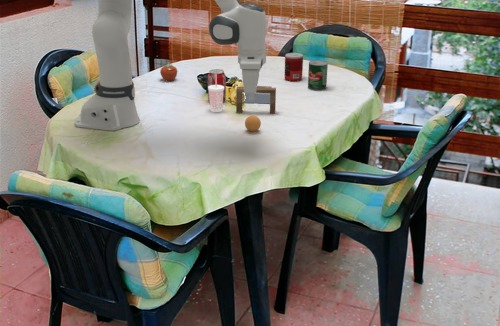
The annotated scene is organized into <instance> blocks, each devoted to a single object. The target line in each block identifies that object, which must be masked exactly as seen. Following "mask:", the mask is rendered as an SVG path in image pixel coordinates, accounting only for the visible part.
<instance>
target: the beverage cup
mask: <svg viewBox="0 0 500 326" xmlns="http://www.w3.org/2000/svg"><path fill="white" fill-rule="evenodd" d="M208 90H209V99H210V100H209V99H208V100H209V110H210V112H213V113H221V112H222V111H223V107H224V106H223V104H224V101H223V90H224V86H222V85H217V74H215V85H211V86H208V85H207V91H208Z"/></svg>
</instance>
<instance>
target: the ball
mask: <svg viewBox="0 0 500 326" xmlns="http://www.w3.org/2000/svg"><path fill="white" fill-rule="evenodd" d="M261 125H262V122H261V119H260V118H259V117H258V116H256V115H255V114H254V115H252V114H251V115H249V116H247V117H246V119H245V121H244V126H245V128H246V130H247V131H249V132H257V131H258V130H259V129H261Z"/></svg>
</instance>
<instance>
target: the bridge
mask: <svg viewBox="0 0 500 326" xmlns="http://www.w3.org/2000/svg"><path fill="white" fill-rule="evenodd" d="M235 90H236V91H235V94H236V95H235V98H236V99H235V100H236V101H235V103H236V106H235V107H236V108H235V110H236V112H235V113H238V114H242V113H243V103H242V101H243V93H244V88H243V86H236V89H235ZM276 92H277V87H272V88H269V87H257V90H256V94H270V104H269V114H272V115H276V102H277V101H276V99H277V98H276V97H277V93H276Z"/></svg>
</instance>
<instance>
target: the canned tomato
mask: <svg viewBox="0 0 500 326" xmlns="http://www.w3.org/2000/svg"><path fill="white" fill-rule="evenodd" d="M328 67H329V64H328V62H327V61H325V60H320V59H317V60H316V59H315V60H310V61H308V77H307V78H308V79H307V89H308V90H309V91H315V92H321V91H325V90H327V85H328V84H327V82H328Z"/></svg>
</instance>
